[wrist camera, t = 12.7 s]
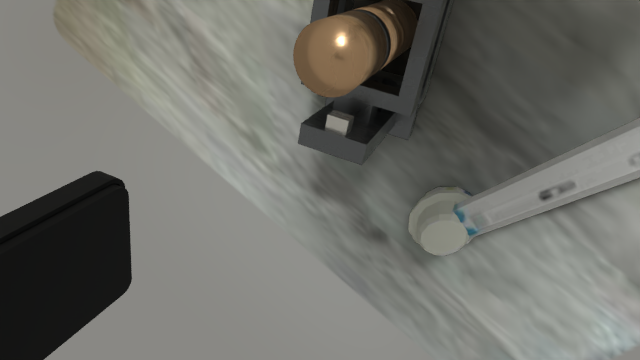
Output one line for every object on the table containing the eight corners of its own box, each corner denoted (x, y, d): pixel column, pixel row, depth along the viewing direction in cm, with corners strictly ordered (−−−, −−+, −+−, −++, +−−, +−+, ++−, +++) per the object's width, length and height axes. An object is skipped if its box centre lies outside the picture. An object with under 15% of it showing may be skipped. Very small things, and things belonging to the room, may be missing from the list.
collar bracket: (460, -17, 35) (436, -9, 27) (414, 137, 41) (384, 183, 33) (351, -41, 37) (298, -40, 29) (323, 109, 44) (273, 145, 35)
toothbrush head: (792, 143, 28) (423, 284, 39) (734, 118, 34) (428, 246, 45) (759, 67, 28) (391, 232, 38) (706, 55, 34) (400, 200, 44)
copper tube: (371, -7, 38) (299, 10, 26) (424, 6, 37) (373, 29, 25) (360, 48, 40) (288, 86, 28) (410, 61, 39) (356, 106, 27)
